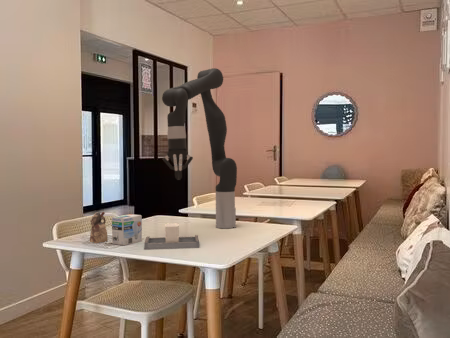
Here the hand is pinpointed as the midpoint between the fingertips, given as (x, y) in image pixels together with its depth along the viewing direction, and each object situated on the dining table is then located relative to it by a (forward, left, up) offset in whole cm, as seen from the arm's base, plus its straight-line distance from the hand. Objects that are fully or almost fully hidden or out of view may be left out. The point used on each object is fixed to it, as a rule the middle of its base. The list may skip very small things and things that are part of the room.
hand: (178, 179), depth 179 cm
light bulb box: (+21, +4, -25) cm, 33 cm away
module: (+3, +12, -25) cm, 27 cm away
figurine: (+33, 0, -25) cm, 41 cm away
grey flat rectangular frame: (+3, +12, -25) cm, 27 cm away
